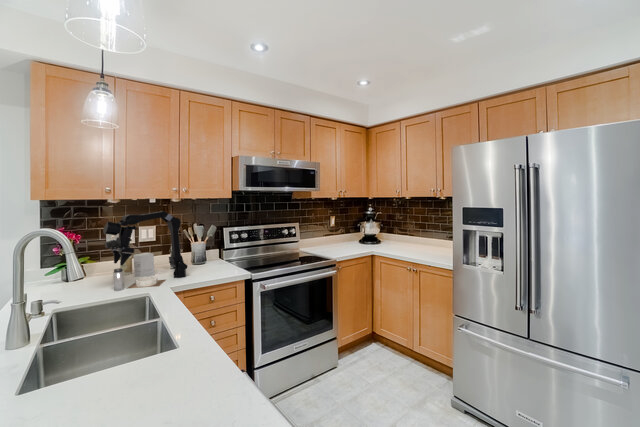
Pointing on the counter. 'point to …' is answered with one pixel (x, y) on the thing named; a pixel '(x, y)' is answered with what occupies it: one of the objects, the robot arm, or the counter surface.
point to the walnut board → (147, 286)
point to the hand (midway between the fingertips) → (118, 264)
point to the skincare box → (127, 266)
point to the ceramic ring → (146, 281)
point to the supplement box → (144, 264)
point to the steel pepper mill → (118, 279)
